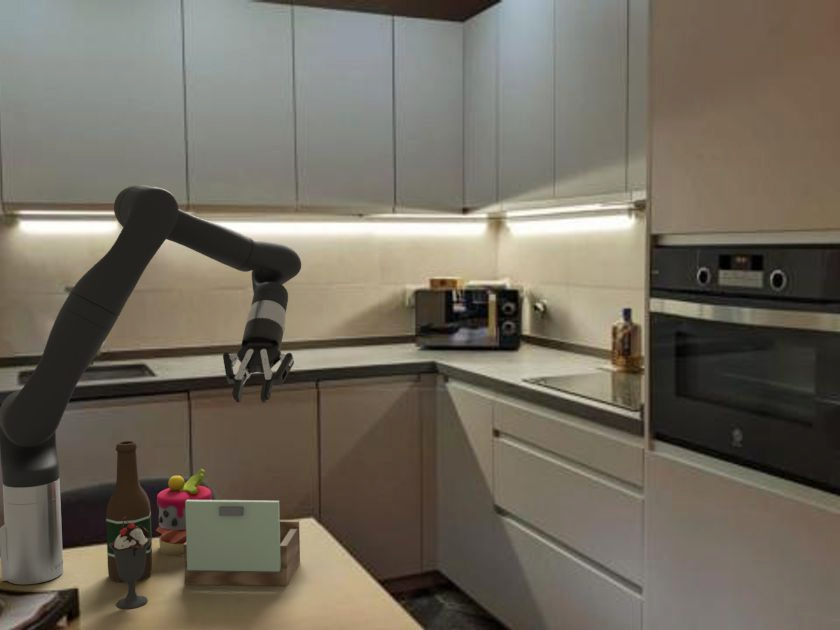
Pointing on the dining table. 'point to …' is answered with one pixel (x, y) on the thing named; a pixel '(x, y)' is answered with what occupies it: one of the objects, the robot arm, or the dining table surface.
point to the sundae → (131, 561)
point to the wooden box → (288, 567)
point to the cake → (177, 511)
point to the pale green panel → (233, 536)
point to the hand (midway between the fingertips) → (250, 399)
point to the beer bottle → (127, 506)
